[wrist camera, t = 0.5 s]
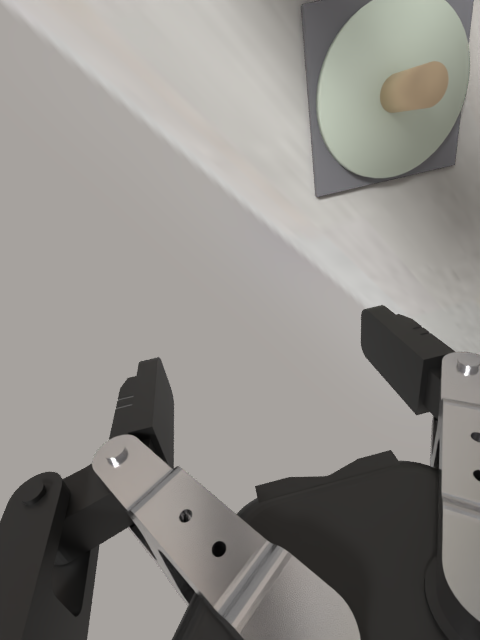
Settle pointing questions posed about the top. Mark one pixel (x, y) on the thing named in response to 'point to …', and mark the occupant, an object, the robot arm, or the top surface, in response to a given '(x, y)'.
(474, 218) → the top surface
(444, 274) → the top surface
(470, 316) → the top surface
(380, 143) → the lid
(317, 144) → the mat
